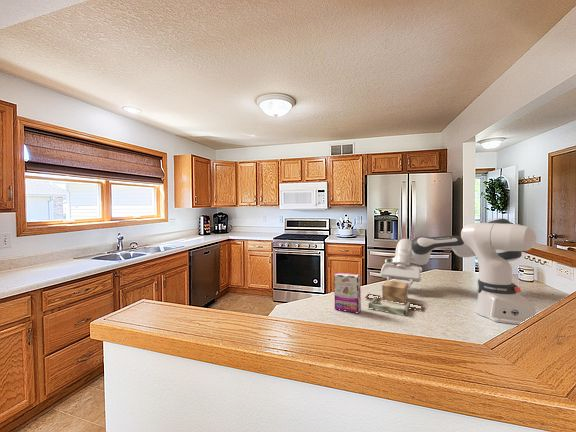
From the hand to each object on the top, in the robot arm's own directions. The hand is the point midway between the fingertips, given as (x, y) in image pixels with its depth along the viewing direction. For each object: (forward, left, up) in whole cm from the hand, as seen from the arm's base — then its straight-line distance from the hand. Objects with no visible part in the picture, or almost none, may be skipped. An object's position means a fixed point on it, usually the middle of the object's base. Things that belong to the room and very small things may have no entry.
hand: (398, 286), depth 144 cm
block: (0, +9, -5) cm, 10 cm away
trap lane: (0, +19, -4) cm, 20 cm away
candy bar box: (+16, +33, -5) cm, 37 cm away
